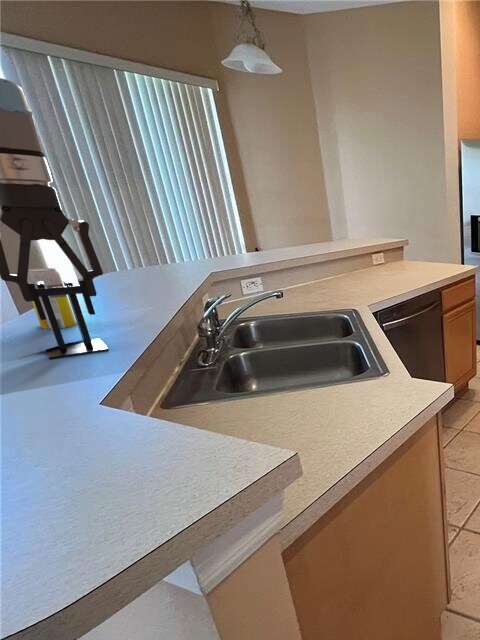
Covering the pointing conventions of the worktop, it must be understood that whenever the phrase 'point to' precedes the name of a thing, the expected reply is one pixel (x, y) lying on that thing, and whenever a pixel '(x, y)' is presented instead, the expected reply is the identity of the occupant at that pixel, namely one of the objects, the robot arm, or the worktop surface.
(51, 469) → the worktop surface
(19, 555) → the worktop surface
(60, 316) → the yellow pill bottle
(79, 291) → the lever
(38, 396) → the worktop surface
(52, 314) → the black stand frame
